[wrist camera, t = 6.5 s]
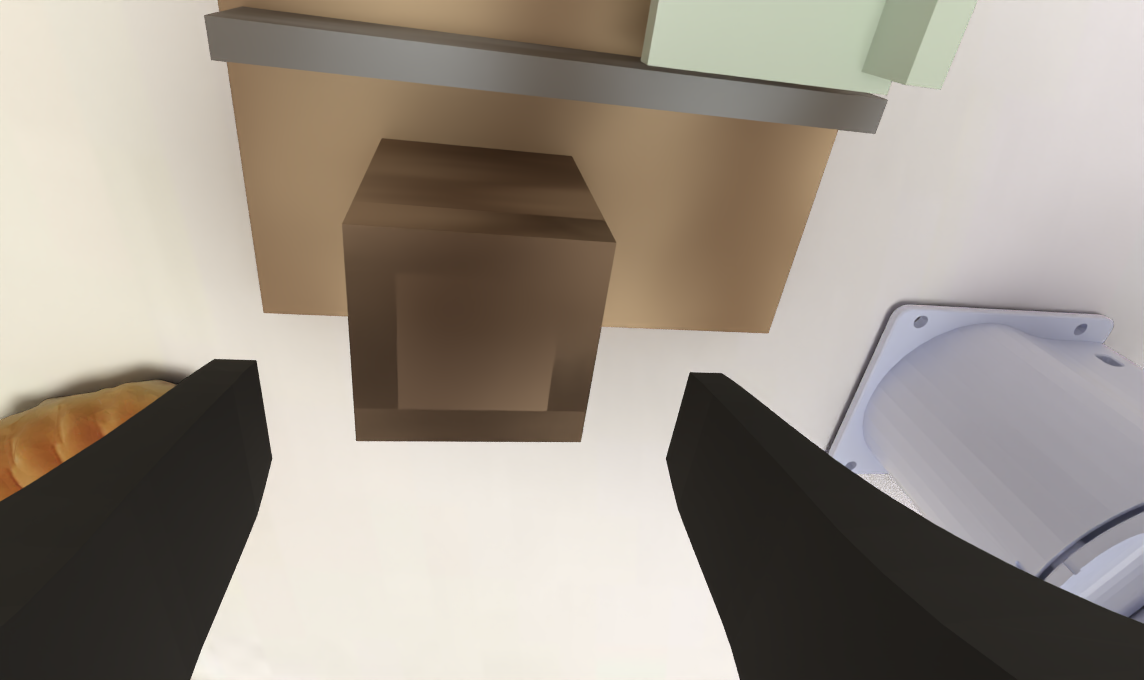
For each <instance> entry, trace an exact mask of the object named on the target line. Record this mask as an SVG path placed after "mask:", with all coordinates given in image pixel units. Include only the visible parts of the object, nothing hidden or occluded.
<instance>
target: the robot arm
mask: <svg viewBox="0 0 1144 680" xmlns="http://www.w3.org/2000/svg"><path fill="white" fill-rule="evenodd" d="M920 316H921V317H920ZM918 317H920V318H919V319H918V320H917V321H916V322H914V321H915V320H916V319H917V318H918ZM1113 326H1114V322H1113V320H1112V319H1110V318H1108V317H1106V316H1104V315H1099V314H1080V313H1061V312H1042V311H1023V310H1004V309H985V308H966V307H947V306H928V305H909V304H908V305H903V306H901V307H898V308H897V309H896V310H895V311H894V312H893V313H892V315H891V317H890V319H889V321H888V323H887V325H886V328H885V330H884V332H883V334H882V336H881V339H880V341H879V343H878V345H877V347H876V350H875V352H874V354H873V356H872V358H871V360H870V363H869V365H868V367H867V369H866V371H865V374H864V376H863V378H862V380H861V382H860V385H859V387H858V389H857V391H856V393H855V396H854V398H853V400H852V402H851V404H850V407H849V409H848V411H847V413H846V415H845V418H844V420H843V422H842V424H841V426H840V429H839V431H838V433H837V435H836V437H835V440H834V442H833V444H832V446H831V448H830V450H829V453H828V454H827V453H826V452H825V451H823V450H822V449H820V448H819V447H818V446H816V445H815V444H814V443H812V442H811V441H810V440H809V439H807V438H806V437H805V436H803V435H802V434H801V433H799V432H798V431H797V430H796V429H794V428H793V427H792V426H790V425H789V424H788V423H787V422H785V421H784V420H783V419H781V418H780V417H779V416H778V415H776V414H775V413H774V412H773V411H771V410H770V409H769V408H768V407H766V406H765V405H764V404H763V403H761V402H760V401H759V400H757V399H756V398H755V397H754V396H752V395H751V394H750V393H748V392H747V391H746V390H745V389H743V388H742V387H741V386H739V385H738V384H737V383H735V382H734V381H733V380H731V379H730V378H728V377H727V376H725V375H724V374H722V373H694V372H690V374H689V377H688V381H687V384H686V388H685V392H684V395H683V399H682V403H681V406H680V410H679V413H678V417H677V421H676V424H675V428H674V431H673V435H672V439H671V442H670V446H669V449H668V453H667V457H666V461H667V465H668V470H669V474H670V479H671V483H672V487H673V491H674V495H675V499H676V503H677V507H678V510H679V513H680V516H681V518H682V521H683V524H684V526H685V529H686V531H687V534H688V537H689V539H690V542H691V544H692V547H693V550H694V552H695V555H696V557H697V560H698V562H699V565H700V567H701V570H702V572H703V575H704V577H705V580H706V582H707V585H708V588H709V590H710V593H711V595H712V598H713V600H714V603H715V605H716V608H717V610H718V613H719V615H720V618H721V621H722V623H723V626H724V629H725V632H726V635H727V638H728V641H729V643H730V646H731V649H732V653H733V656H734V660H735V664H736V667H737V671H738V674H739V678H740V680H1144V369H1143V368H1142V367H1140V366H1139V365H1137V364H1135V363H1134V362H1132V361H1130V360H1129V359H1127V358H1126V357H1124V356H1122V355H1121V354H1119V353H1117V352H1116V351H1114V350H1113V349H1111V348H1109V347H1108V346H1106V345H1104V344H1103V343H1104V341H1105V340H1106V338H1107V337H1108V335H1109V334H1110V332H1111V331H1112V329H1113ZM271 461H272V454H271V448H270V442H269V436H268V429H267V423H266V417H265V411H264V404H263V398H262V392H261V386H260V380H259V373H258V367H257V361H256V360H227V359H214V360H212V361H211V362H209V363H208V364H206V365H204V366H203V367H201V368H200V369H199V370H197V371H196V372H194V373H193V374H191V375H190V376H189V377H187V378H186V379H184V380H183V381H182V382H180V383H179V384H177V385H176V386H175V387H173V388H172V389H170V390H169V391H168V392H166V393H165V394H163V395H162V396H161V397H159V398H158V399H157V400H155V401H154V402H152V403H151V404H149V405H148V406H147V407H145V408H144V409H142V410H141V411H139V412H138V413H137V414H135V415H134V416H132V417H131V418H129V419H128V420H127V421H125V422H124V423H122V424H121V425H119V426H118V427H117V428H115V429H114V430H112V431H111V432H109V433H108V434H107V435H105V436H104V437H102V438H101V439H99V440H98V441H96V442H94V443H93V444H91V445H90V446H88V447H87V448H85V449H84V450H82V451H80V452H79V453H77V454H76V455H74V456H73V457H71V458H69V459H68V460H66V461H65V462H63V463H62V464H60V465H59V466H57V467H55V468H54V469H52V470H51V471H49V472H48V473H46V474H44V475H43V476H41V477H40V478H38V479H37V480H35V481H34V482H32V483H30V484H29V485H27V486H25V487H24V488H22V489H20V490H19V491H17V492H15V493H14V494H12V495H10V496H9V497H7V498H5V499H3V500H2V501H0V680H190V679H191V676H192V673H193V671H194V668H195V665H196V663H197V660H198V657H199V655H200V652H201V649H202V647H203V644H204V642H205V640H206V637H207V635H208V633H209V630H210V628H211V625H212V623H213V621H214V618H215V616H216V614H217V611H218V609H219V606H220V604H221V602H222V599H223V597H224V594H225V592H226V590H227V587H228V585H229V583H230V580H231V578H232V575H233V573H234V571H235V568H236V566H237V564H238V561H239V559H240V556H241V554H242V551H243V549H244V547H245V544H246V542H247V539H248V537H249V534H250V532H251V530H252V527H253V525H254V522H255V520H256V517H257V514H258V511H259V507H260V504H261V500H262V496H263V493H264V489H265V485H266V481H267V477H268V473H269V469H270V465H271ZM857 474H890V475H891V477H892V478H893V479H894V480H895V482H896V483H897V484H898V485H899V487H900V488H901V489H902V490H903V492H904V493H905V494H906V495H907V496H908V498H909V499H910V500H911V501H912V503H913V504H914V505H915V506H916V508H917V509H918V510H919V511H920V513H921V514H922V515H923V516H924V517H925V518H924V517H922V516H921V515H919V514H917V513H916V512H914V511H913V510H911V509H909V508H908V507H906V506H904V505H903V504H901V503H899V502H898V501H896V500H894V499H893V498H891V497H890V496H888V495H887V494H885V493H883V492H882V491H880V490H879V489H877V488H876V487H874V486H873V485H871V484H870V483H868V482H867V481H865V480H864V479H863V478H861V477H860V476H858V475H857Z"/></svg>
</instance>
